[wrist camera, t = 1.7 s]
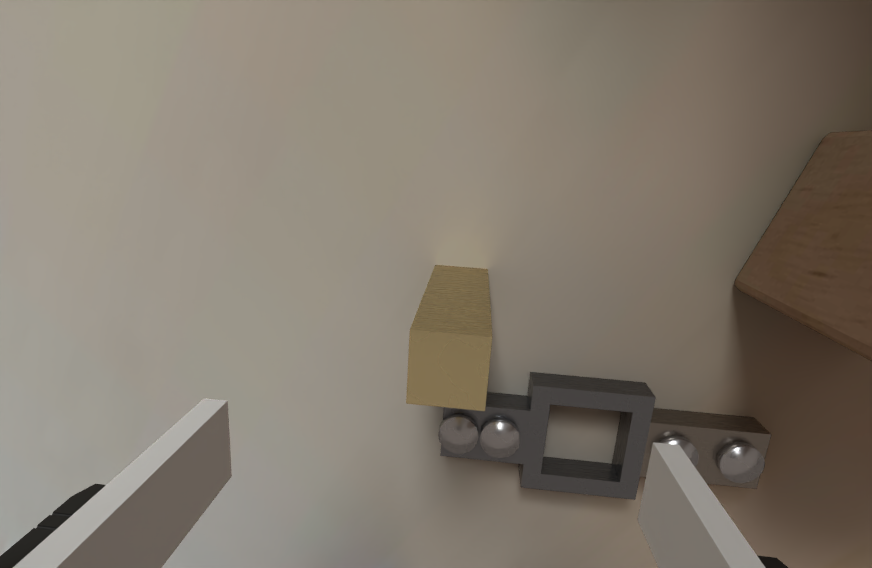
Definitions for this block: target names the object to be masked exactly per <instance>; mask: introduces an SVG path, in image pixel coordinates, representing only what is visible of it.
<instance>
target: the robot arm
mask: <svg viewBox="0 0 872 568" xmlns="http://www.w3.org/2000/svg"><path fill="white" fill-rule="evenodd" d="M231 476H232V475H231V456H230V437H229V418H228V401H226V400H216V399H206V398H204V399H203V400H202V401H201V402H200V403H198V404H197V405H196V406H195V407H194V408H193V409H192V410H190V411H189V412H188V413H187V414H186V415H185V416H184V417H183V418H181V419H180V420H179V421H178V422H177V423H176V424H175V425H174V426H172V427H171V428H170V429H169V430H168V431H167V432H166V433H164V434H163V435H162V436H161V437H160V438H159V439H158V440H157V441H155V442H154V443H153V444H152V445H151V446H150V447H149V448H148V449H146V450H145V451H144V452H143V453H142V454H141V455H140V456H138V457H137V458H136V459H135V460H134V461H133V462H132V463H131V464H129V465H128V466H127V467H126V468H125V469H124V470H123V471H122V472H120V473H119V474H118V475H117V476H116V477H115V478H114V479H112V480H111V481H110V482H109V483H108V484H107V485H101V484H94V485H92V486H90V487H89V488H87V489H85V490H83V491H81V492H79V493H77V494H75V495H74V496H72V497H70V498H69V499H68V500H67V501H66V502H65V503H63V504H62V505H61V506H60V507H59V508H57V509H56V510H55V511H54V512H53V514H52V515H49V516H48V517H47V518H45V519H44V520H43V521H42V522H41V523H39V524H38V526H37V528H36V529H35V528H33V529H32V530H31V531H30V532H29V533H28V534H26V535H25V536H24V537H23V538H22V539H20V540H19V541H18V542H17V543H16V544H14V545H13V546H12V547H11V548H10V549H8V550H7V551H6V552H5V553H4V554H2V555H1V556H0V568H161V567H162V566H163V565H164V563H165V562H166V561H167V560H168V558H169V557H170V556H171V554H172V553H173V552H174V550H175V549H176V548H177V547H178V545H179V544H180V543H181V541H182V540H183V539H184V537H185V536H186V535H187V534H188V532H189V531H190V530H191V528H192V527H193V526H194V524H195V523H196V522H197V521H198V519H199V518H200V517H201V515H202V514H203V513H204V511H205V510H206V509H207V507H208V506H209V505H210V504H211V502H212V501H213V500H214V498H215V497H216V496H217V494H218V493H219V492H220V491H221V489H222V488H223V487H224V485H225V484H226V483H227V481H228V480H229V479H230V478H231ZM638 522H639V524H640V527H641V529H642V531H643V533H644V536H645V538H646V540H647V542H648V545H649V547H650V549H651V551H652V554H653V556H654V558H655V561H656V563H657V565H658V567H659V568H788V567H787V566H786V565H784V564H783V563H782V562H781V561H780V560H778V559H777V558H773V557H764V556H757V555H756V553H755V552H754V551H753V549H752V548H751V546H750V545H749V543H748V542H747V541H746V539H745V538H744V536H743V535H742V534H741V532H740V531H739V529H738V528H737V526H736V525H735V524H734V522H733V521H732V519H731V518H730V516H729V515H728V514H727V512H726V511H725V509H724V508H723V506H722V505H721V504H720V502H719V501H718V499H717V498H716V496H715V495H714V494H713V492H712V491H711V489H710V488H709V487H708V485H707V484H706V482H705V481H704V479H703V478H702V477H701V475H700V474H699V472H698V471H697V469H696V468H695V467H694V465H693V464H692V462H691V461H690V459H689V458H688V457H687V455H686V454H685V452H684V451H683V449H682V448H681V447H680V445H675V444H665V443H655V442H653V445H652V450H651V455H650V460H649V465H648V470H647V475H646V480H645V485H644V490H643V495H642V500H641V505H640V510H639V515H638Z"/></svg>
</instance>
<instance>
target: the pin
mask: <svg viewBox="0 0 872 568" xmlns="http://www.w3.org/2000/svg"><path fill="white" fill-rule="evenodd" d="M491 344H492V326H491V311H490V296H489V281H488V269H480V268H467V267H454V266H442V265H435V267H434V270H433V272H432V275H431V277H430V280H429V282H428V285H427V287H426V290H425V293H424V295H423V298H422V300H421V303H420V305H419V308H418V310H417V313H416V315H415V318H414V321H413V323H412V326H411V328H410V338H409V358H408V378H407V399H406V403H407V404H417V405H427V406H437V407H448V408H458V409H468V410H478V411H485V406H486V396H487V385H488V375H489V365H490V355H491Z"/></svg>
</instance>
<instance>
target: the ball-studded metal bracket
mask: <svg viewBox="0 0 872 568" xmlns="http://www.w3.org/2000/svg"><path fill="white" fill-rule="evenodd" d="M655 398H656V397H655V396H654V394H653V393H652V391H651V390H650V389H649V387H648V386H647V384H646V383H642V382H631V381H620V380H610V379H599V378H588V377H577V376H566V375H556V374H545V373H534V372H530V380H529V388H528V396H521V395H511V394H500V393H490V392H487V396H486V406H485V411H478V410H468V409H458V408H448V407H444V414H443V421H442V422H441V424H440V428H439V440H440V443H441V455H440V456H449V457H459V458H468V459H478V460H487V461H497V462H506V463H516V464H519V476H520V484H521V487H523V488H533V489H542V490H551V491H560V492H570V493H579V494H588V495H597V496H606V497H616V498H625V499H634V500H635V498H636V493H637V488H638V483H639V478H640V477H646V475H647V470H648V465H649V460H650V455H651V450H652V445H653V442H655V443H665V444H675V445H680V447H681V448H682V449H683V451H684V452H685V454H686V455H687V457H688V458H689V459H690V461H691V462H692V464H693V465H694V467H695V468H696V469H697V471H698V472H699V474H700V475H701V477H702V478H703V479H704V481H705V482H706V484H715V485H725V486H734V487H744V488H753V489H757V485H758V481H759V478H760V474H761V473H762V471H763V469H764V466H765V461H764V460H765V456H766V452H767V449H768V445H769V441H770V438H771V434H770V433H769V432H768V431H767V430H766V429H765V428H764V427H763V426H762V425H761V424H760V423H759V422H758V421H757V420H756V419H755V418H750V417H740V416H730V415H719V414H709V413H698V412H688V411H677V410H667V409H657V408H654V403H655ZM550 404H551V405H561V406H571V407H582V408H592V409H602V410H613V411H621V417H620V422H619V428H618V433H617V439H616V444H615V450H614V455H613V461H612V464H608V463H599V462H589V461H580V460H570V459H560V458H551V457H543V454H544V447H545V439H546V432H547V425H548V417H549V410H550Z"/></svg>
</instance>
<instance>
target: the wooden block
mask: <svg viewBox="0 0 872 568" xmlns="http://www.w3.org/2000/svg"><path fill="white" fill-rule="evenodd" d="M735 286H736V287H737V288H738V289H739V290H740V291H742V292H744V293H746V294H748V295H749V296H751V297H753V298H755V299H757V300H759V301H761V302H763V303H764V304H766V305H768V306H770V307H772V308H774V309H776V310H777V311H779V312H781V313H783V314H785V315H787V316H789V317H791V318H792V319H794V320H796V321H798V322H800V323H802V324H804V325H805V326H807V327H809V328H811V329H813V330H815V331H817V332H819V333H820V334H822V335H824V336H826V337H828V338H830V339H832V340H833V341H835V342H837V343H839V344H841V345H843V346H845V347H847V348H848V349H850V350H852V351H854V352H856V353H858V354H860V355H861V356H863V357H865V358H867V359H869V360H871V361H872V130H870V131H851V132H832V133H829V134H828V135H827V136H825V137H824V138H823V140H822V141H821V143H820V144H819V146H818V148H817V149H816V151H815V152H814V154H813V156H812V157H811V159H810V160H809V162H808V164H807V165H806V167H805V169H804V170H803V172H802V173H801V175H800V177H799V178H798V180H797V181H796V183H795V185H794V186H793V188H792V189H791V191H790V193H789V194H788V196H787V197H786V199H785V201H784V202H783V204H782V205H781V207H780V209H779V210H778V212H777V214H776V215H775V217H774V218H773V220H772V222H771V223H770V225H769V226H768V228H767V230H766V231H765V233H764V234H763V236H762V238H761V239H760V241H759V242H758V244H757V246H756V247H755V249H754V250H753V252H752V254H751V255H750V257H749V259H748V260H747V262H746V263H745V265H744V267H743V268H742V270H741V271H740V273H739V275H738V276H737V278H736V280H735Z"/></svg>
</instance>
